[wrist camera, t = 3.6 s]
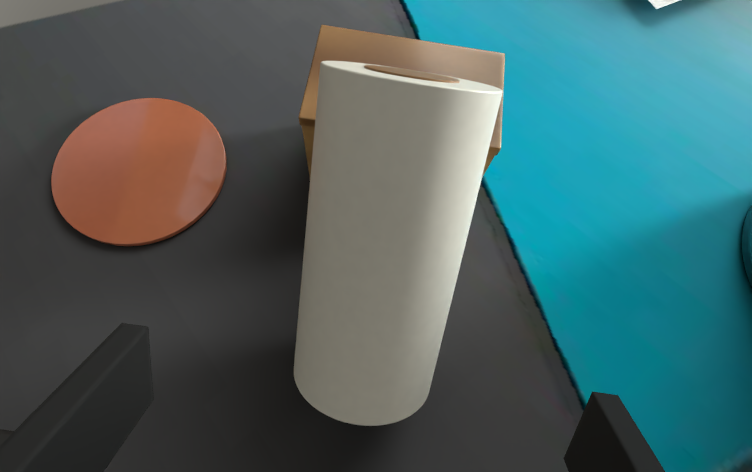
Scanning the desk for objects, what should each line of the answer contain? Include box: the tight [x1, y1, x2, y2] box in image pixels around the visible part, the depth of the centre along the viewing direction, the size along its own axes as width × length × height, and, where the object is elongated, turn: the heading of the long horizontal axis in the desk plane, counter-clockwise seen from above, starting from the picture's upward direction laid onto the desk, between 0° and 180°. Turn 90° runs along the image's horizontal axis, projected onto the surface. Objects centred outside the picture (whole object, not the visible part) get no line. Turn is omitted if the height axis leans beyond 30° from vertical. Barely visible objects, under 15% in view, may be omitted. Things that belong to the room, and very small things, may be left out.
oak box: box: [299, 25, 505, 177], centre depth 27 cm, size 6×10×8 cm, turn 82°
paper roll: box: [294, 61, 503, 426], centre depth 21 cm, size 16×7×16 cm, turn 172°
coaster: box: [51, 98, 227, 246], centre depth 30 cm, size 11×11×1 cm
